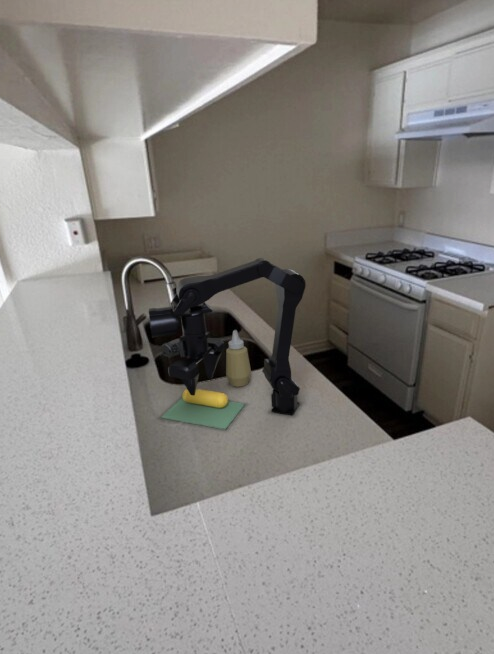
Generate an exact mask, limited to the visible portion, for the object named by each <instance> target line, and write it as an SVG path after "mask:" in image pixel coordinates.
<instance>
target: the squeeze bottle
mask: <svg viewBox="0 0 494 654" xmlns="http://www.w3.org/2000/svg"><path fill="white" fill-rule="evenodd" d="M244 345H245V343H244V340H243V339H240V335H239V332H238V330H237V329H234V330H232V336H231V340H229V341H228V348H226V350H225V351H226V356H225V357H226V358H225V376H226V379H228V381H229V382H228V383H229V384H230V385H231V386H232V387H239V388H240V387H244V386H247V385H248V384H249V382H250V378H251V375H252V370H251V369H252V368H251V364H250V358H249V352H248V348H247V347H246V346H244Z"/></svg>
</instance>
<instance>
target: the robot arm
mask: <svg viewBox="0 0 494 654" xmlns="http://www.w3.org/2000/svg"><path fill="white" fill-rule="evenodd" d="M262 278H265V279H266V280H267V281H270V282H272V283H274V284H275V292H276V297H277V304H278V307H277V314H276V321H275V322H276V323H275V330H274V337H273V344H272V352H271V355H270V357H269V358H264V359H263V367H262V370H261V372H262V373H263V376H264V378H265V379H266V381H267V383H269V385H270V387H271V388H272V392H271V394H270V397H271V398H270V400H271V407H272V408H271V410H270V411H271V413H274V414H280V415H281V414H282V415H288V416H294V414H295V413H296V412H297V409H298V408H299V405H300V402H299V401H298V395H299V392H300V389H301V388H300V387H299V385H298V384H297V383H296V381H295V380H294V379H293V378H292V369H291V363H290V352H291V346H292V345H291V344H292V338H293V331H294V325H295V318H296V310H297V308H298V306H299V304H300V303H301V301H302V300H303V297H304V294H305V290H306V286H307V285H306V284H307V282H306V279H305V278H304V277H303V276H302V275H301V274H299V273H297V272H296V271H295V270H293V269H290V268H285V269H282V268H280V267H278V266H277V265H275V264H273V263H271V262H270V261H268V260H267V259H265V258H263V257H258V258H256V259H254V260H253V261H250V262H247V263H243V264H241V265H238V266H235V267H232V268H229V269H226V270H223V271H220V272H216V273H214V274H211V275H210V274H209V275H195V276H190V277H183V278H182V279H180V280H179V281H178V283H177V285H176V289H175V290H176V293H175V295H174V296H173V298H172V300H171V301H170V303H169V305H170V306H165V307H151V308H148V309H147V311H148V316H149V319H148V321H149V327H150V334H151V338H152V339H153V338H159V337H160V338H161V337H166V336H173V335H176V334H177V333H178V332H179V330H180V329H182V335H180V336H179V338H175V339H173V340H171V341H168V342H164V343H163V344H162V345H161V354H163V356H164V357H166V358H167V357H168V359H170V358H172V357H175V356H178V355H179V356H180V357H181V358H187V359H181V358H180V359H179V358H178V359H176V360H175V361H174V362H173V363H171V364H170V365H169V366H168V367H167V372H168V377H171V378H177V379H179V380H180V381H181V382H182V383H183V384H184V386H185V389H187V390H188V391H189V393H190V395H193V396H194V395H195V393H196V389H198V388H197V387H198V381H199V376H200V373H199V365H198V364H199V363H200V362H201V361H202V360H203V364H204V369H205V373H206V377H207V379H208V380H210V379H211V380H212V379H213V377H214V374H215V371H216V368H217V366H218V363H219V361H220V358H221V356H222V354H223V351H224V350H225V342H224V341H223V340H222V339H221V338H218V337H217V338H215V337H211V331H207V324H206V323H207V322H206V314H210V313H213V311H214V310H213V308H212V307H211V305H209V304H207V301H209V300H210V299H211V298H213V297H214V296H216V295H217V294H219V293H221V292H224V291H227V290H230V289H232V288H235V287H238V286H241V285H244V284H247V283H250V282H252V281H256V280H258V279H262ZM179 318H180V321H179ZM180 322H181V326H180ZM180 327H181V328H180Z"/></svg>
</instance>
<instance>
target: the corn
mask: <svg viewBox="0 0 494 654" xmlns="http://www.w3.org/2000/svg"><path fill="white" fill-rule="evenodd" d="M182 397H183V399H184V401H185V402H187V403H192V404H198V405H204V406H210V407H216V408H223V407H225V406H226V405H227V403H228V401H229V397H228V395H227V394H226V393H223V392H220V391H213V390H206V389H200V388H196V393H195V395H194V396H193V395H190V393H189V391H188V390H187V388H185V389H184V391H183V392H182Z"/></svg>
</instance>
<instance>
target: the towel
mask: <svg viewBox="0 0 494 654" xmlns="http://www.w3.org/2000/svg"><path fill="white" fill-rule="evenodd" d="M245 405H246V403H242V402H235V401H231V400H230V401H229V400H228V403H227V405H226V406H225V407H223V408H216V407H210V406H204V405H198V404H192V403H187V402H185V401H184V399H183V396H182V397H181V398H180V399H178V401H177V402H175V404H174V405H172V406H171V407H170V408H169V409H168V410H167V411H166V412H165V413H164V414H163V415H161V419H166V420H169V421H177V422H181V423H188V424H193V425H197V426H198V425H199V426H204V427H209V428H215V429H221V430H225V431H226V430H227V429H228V428H229V427H230V425H231V424H232V422H233V421H234V420H235V418H236V417H237V416H238V414H240V412H241V411H242V409H243V408H244V407H245Z"/></svg>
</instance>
